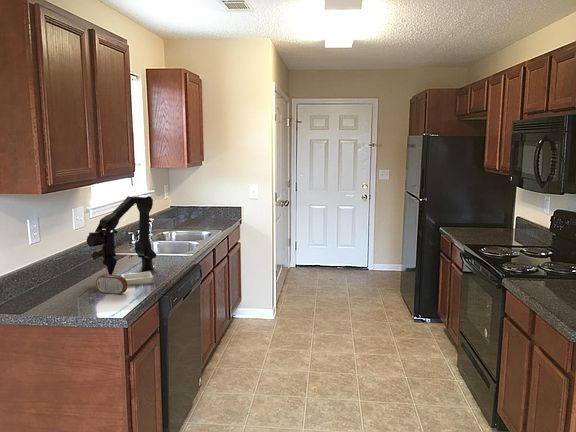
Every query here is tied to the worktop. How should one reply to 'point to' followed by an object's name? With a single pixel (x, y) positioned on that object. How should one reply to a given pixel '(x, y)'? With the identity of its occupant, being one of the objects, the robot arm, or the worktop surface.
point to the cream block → (108, 273)
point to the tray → (138, 278)
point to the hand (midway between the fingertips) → (110, 274)
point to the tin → (111, 284)
